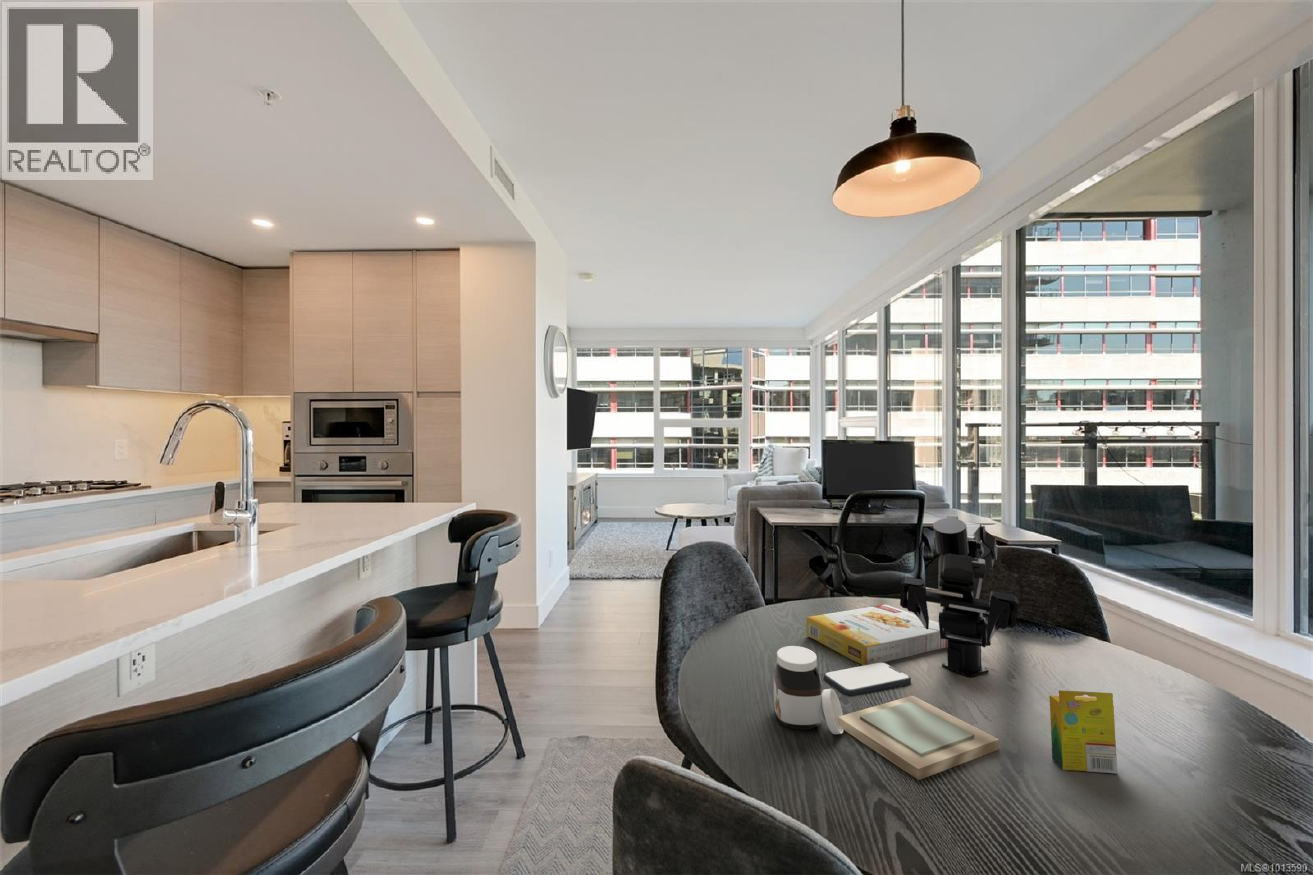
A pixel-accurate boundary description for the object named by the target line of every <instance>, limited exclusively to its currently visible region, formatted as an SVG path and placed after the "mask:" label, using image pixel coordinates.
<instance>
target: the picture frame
mask: <svg viewBox="0 0 1313 875" xmlns="http://www.w3.org/2000/svg"><path fill="white" fill-rule="evenodd" d="M838 723H839V725H841V727H843V728H844V731H845V732H846V733H848V734H849V735H851V736H852V737H854V738H855V739H857V740H858V741H859V742H861V743H862V744H864V745H865V746H867V747H868V748H869V749H871V750H872V751H875V752H876V753H877V754H879V755H881V757H884V758H885V759H886V760H888V761H889V762H891V763H892V764H894V765H895V766H897V767H898V768H899V769H901V770H902V771H904V772H906V773H908V774H909V775H910V776H911V777H913V778H915V779H916V780H918V781H920V780H924V779H925V778H928V777H931V776H933V775H937V774H939V773H941V772H944V771H947V770H949V769H951V768H955V767H957V766H959V765H960V766H961V765H963V764H964V763H967V762H970V761H973V760H975V759H979V758H981V757H983V755H984V756H986V755H988V754H991V753H993V752H997V751H1000V739H999V738H997V737H995V736H993V735H992V734H990V733H988V732H985V731H983V730H981V729H979V728H977V727H976V726H974V725H971V724H969V723H967V722H965V721H964V720H961V719H960V718H958V717H955V716H954V715H952V714H950V713H948V712H946V711H944V710H942V709H940V708H938V707H936V706H934V705H932V704H931V703H928V702H926V701H924V700H922V699H921V698H918V697H916V696H914V695H909V696H906V697H903V698H899V699H896V700H892V701H888V702H885V703H882V704H881V703H880V704H877V705H874V706H871V707H867V708H864V709H861V710H857V711H853V712H850V713H846V714H843V715H842V716H839V717H838Z"/></svg>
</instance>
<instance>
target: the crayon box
mask: <svg viewBox="0 0 1313 875" xmlns="http://www.w3.org/2000/svg"><path fill="white" fill-rule="evenodd" d="M1048 697H1049V699H1048V700H1049V714H1050V715H1049V717H1050V718H1049V719H1050V736H1051V743H1050V744H1051V759H1052V761H1054V763H1056V765H1058V766H1059V767H1060V769H1062V770H1063V771H1077V772H1091V773H1106V774H1107V773H1108V774H1113V775H1118V762H1117V756H1118V755H1117V743H1116V742H1117V741H1116V728H1115V726H1116V724H1115V709H1114V699H1113V698H1114V695H1113V693H1112V692H1101V691H1100V692H1098V691H1080V690H1079V691H1078V690H1061V689H1060V690H1058V695H1049V696H1048Z"/></svg>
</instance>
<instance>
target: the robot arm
mask: <svg viewBox="0 0 1313 875" xmlns="http://www.w3.org/2000/svg"><path fill="white" fill-rule="evenodd" d="M932 527H933V536H934V537H933V542H934V548H935V550H936V554H937V555H939V558H938V588H935V587H934V588H933V587H926V586H925V579H921V578H914V577H908V576H904V577H903V578H902V579H900V580H901V581H900V582H901V583H900V599H899V600H900V602H899V606H900V607H902V608H903V609H907V612H909V613H910V612H911V613H912V614H914V615H916V616H917V617H918V618H919V619H920V621H921V622H922V624H923V625H924V627H925V628H926V629H929V620H930V617H929V610H928V602H927V601H931V602H936V603H937V602H938V603H939V604H940V605H939V606H940V607H942V610H941V609H940V610H939V612H938V623H939V629H940V638H941V639H947V640H948V647H946V653H947V655H946V656H947V661H946V662H945V661H944V662H942V663H941V667H943V668H946V669H949V670H951V671H953V672H955V673H959V674H961V675H963V676H965V677H968V678H971V677H974V676H979V675H983V674H986V673H989V668H987V667H985V666H982V648H984V649H985V648H986V647H988V646H989V647H990V646H991V645H992V638H993V637H994V635H995V634H996V632H998V631H999V630H1006V629H1007V628H1008V629H1012V628H1015V627H1016V622H1017V617H1018V611H1019V599H1018V597H1017V596H1016V595H1015V594H1013V593H1008V592H1002V591H994V590H991V591H990V595H989V596H990V597H989V600H987V599H983V598H982V599H980V595H981V590H982V583H983V580H984V579H985V577H986V574H987V571H989V570H991V569H993V567H994V562H995V561H997V560H998V546H997V541H996V540H997V539H996V538H995V536H994V535H992V534H991V533H990V532H988V531H987V530H986V526H985V524H981V523H973V522H965V521H962V520H961V519H959V517H958V516H955V515H947V516H946V518H941V519H938V520H936V521H934V522H933V524H932ZM983 614H986V615H988V616H987V620H986V617H984V615H983Z"/></svg>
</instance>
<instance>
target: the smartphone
mask: <svg viewBox="0 0 1313 875" xmlns="http://www.w3.org/2000/svg"><path fill="white" fill-rule="evenodd" d="M822 677H823V680H824V681H825V682H827V683H828V684H830V686H833V687H834V688H835V689H837V690H838V691H839V692H841V693H843V694H845V695H846V696H847V695H848V696H856V695H861V694H867V693H871V692H877V691H881V690H888V689H893V688H898V687H903V686H908V685H911V684H912V678H911V676H910V675H909V674H907V673H905V672H903V671H902V670H899V669H897V668H895V667H893V666H892V665H891V664H888V663H886V662H879V663H873V664H868V665H860V666H859V665H858V666H853V667H848V668H843V669H837V670H833V671H827V672H824V673H823V676H822Z"/></svg>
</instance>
